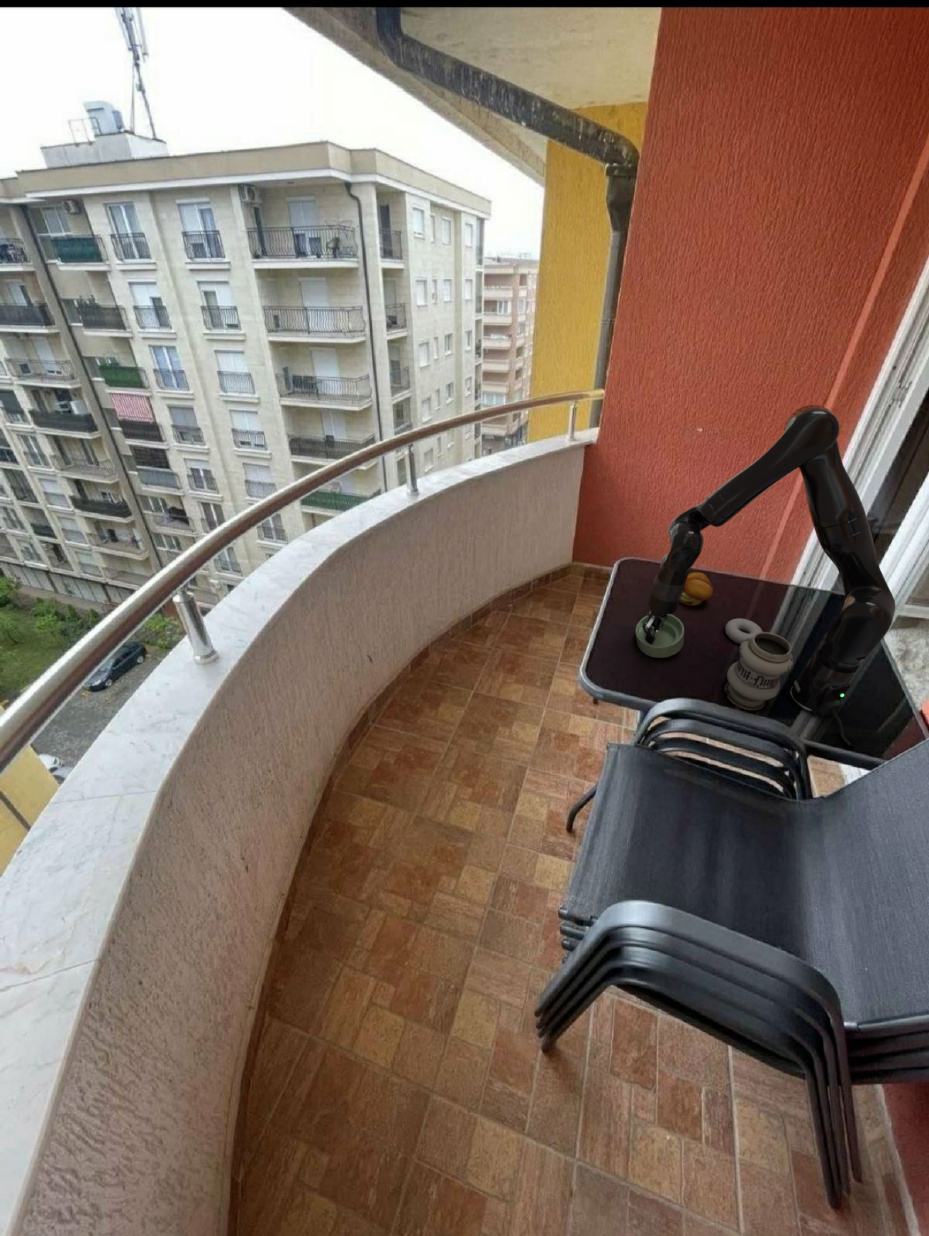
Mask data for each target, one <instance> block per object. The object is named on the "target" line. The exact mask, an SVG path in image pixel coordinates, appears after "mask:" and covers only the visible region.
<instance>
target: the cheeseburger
mask: <svg viewBox="0 0 929 1236" xmlns="http://www.w3.org/2000/svg"><path fill="white" fill-rule="evenodd" d="M713 593H714V587H713V585H712V583H711V582H710V580H709V578H708V576H707V575H706V574H704V573H702V572H699V571H697V572H696V571H695V572H691V573H690V572H689V574H688V577H687V579H686V583H685V588H684V591H683V594H682V596H681V599H680V602H679V604H680V603H681V604H683V605H685V606H691V607H693V606H699V605H701V604H702V603H703V602H705V601H708V600H709V599H711V597H712V596H713Z"/></svg>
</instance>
